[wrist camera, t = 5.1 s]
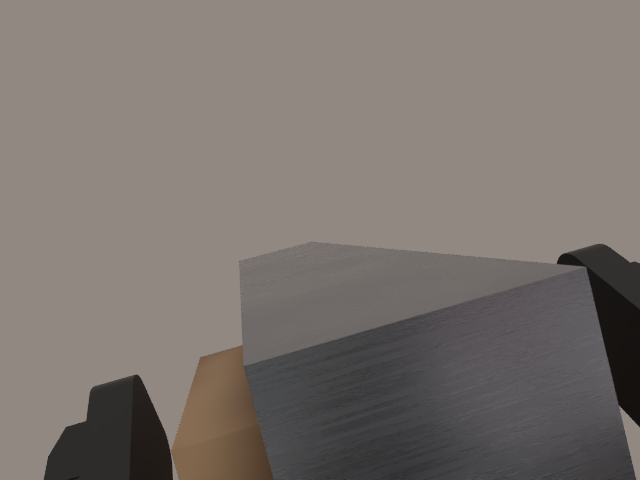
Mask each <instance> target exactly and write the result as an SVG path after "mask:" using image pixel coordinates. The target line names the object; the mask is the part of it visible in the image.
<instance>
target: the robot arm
mask: <svg viewBox="0 0 640 480" xmlns="http://www.w3.org/2000/svg"><path fill="white" fill-rule="evenodd" d="M557 264H560V265H571V266H582V267H586V269H587V273H588V277H589V282H590V286H591V290H592V294H593V299H594V303H595V307H596V311H597V316H598V320H599V324H600V328H601V333H602V337H603V341H604V345H605V350H606V354H607V358H608V362H609V367H610V371H611V375H612V379H613V384H614V388H615V392H616V396H617V401H618V405H619V406H620V407H621V408H622V409H623V410H624V411H625V412H626V413H627V414H628V415H629V416H630V417H631V418H632V420H634V421H635V423H636V424H637V425H638V426H639V427H640V263H637V262H631V263H630V262H629V261H627V260H626V259H625V258H623V257H622V256H620V255H619V254H618V253H616V252H615V251H614V250H612V249H611V248H610V247H608V246H606V245H604V244H596V245H593V246H589V247H585V248H582V249H578V250H575V251H572V252H568V253H564V254H562V255H561V256H560V257H559V259H558V261H557ZM172 474H173V473H172V460H171V453H170V449H169V444H168V440H167V436H166V433H165V431H164V428H163V426H162V424H161V422H160V420H159V417H158V415H157V413H156V411H155V408H154V406H153V404H152V402H151V400H150V397H149V395H148V393H147V390H146V388H145V386H144V384H143V382H142V380H141V378H140V377H139V376H138V375H133V376H129V377H126V378H122V379H119V380H115V381H112V382H108V383H105V384H101V385H98V386H94V387H93V388H92V389H91V391H90V397H89V404H88V412H87V420H86V421H85V422H82V423H78V424H75V425H72V426H68V427H66V428H65V430H64V431H63V433H62V435H61V437H60V438H59V440H58V441H57V443H56V445H55V446H54V448H53V450H52V451H51V453H50V455H49V456H48V461H47V466H46V471H45V476H44V480H173V475H172Z"/></svg>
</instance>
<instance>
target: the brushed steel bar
mask: <svg viewBox="0 0 640 480" xmlns="http://www.w3.org/2000/svg"><path fill="white" fill-rule="evenodd" d="M239 267H240V291H241V315H242V339H243V365H244V370H245V374H246V377H247V381H248V385H249V389H250V392H251V396H252V400H253V404H254V407H255V411H256V415H257V419H258V422H259V426H260V430H261V434H262V438H263V441H264V445H265V449H266V453H267V456H268V460H269V464H270V468H271V471H272V475H273V479H274V480H636V477H635V473H634V469H633V464H632V460H631V456H630V452H629V448H628V443H627V439H626V435H625V430H624V426H623V422H622V418H621V414H620V409H619V405H618V401H617V396H616V392H615V388H614V384H613V379H612V375H611V371H610V367H609V362H608V358H607V354H606V350H605V345H604V341H603V337H602V333H601V328H600V324H599V320H598V316H597V311H596V307H595V303H594V299H593V294H592V290H591V286H590V282H589V277H588V273H587V269H586V267H582V266H571V265H560V264H549V263H537V262H527V261H516V260H505V259H494V258H483V257H472V256H461V255H450V254H439V253H428V252H417V251H406V250H395V249H384V248H372V247H362V246H350V245H339V244H329V243H318V242H310V243H306V244H302V245H298V246H294V247H291V248H287V249H284V250H279V251H275V252H272V253H268V254H264V255H260V256H256V257H253V258H249V259H245V260H241V261H239Z"/></svg>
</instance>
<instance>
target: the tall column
mask: <svg viewBox="0 0 640 480" xmlns="http://www.w3.org/2000/svg"><path fill="white" fill-rule="evenodd" d="M171 452H172V456H173V460H174V463H175V467H176V471H177V474H178V478H179V480H274V479H273V475H272V471H271V468H270V464H269V460H268V456H267V453H266V449H265V445H264V441H263V438H262V434H261V430H260V426H259V422H258V419H257V415H256V411H255V407H254V404H253V400H252V396H251V392H250V389H249V385H248V381H247V377H246V374H245V370H244V365H243V345H242V346H239V347H235V348H232V349H228V350H225V351H221V352H218V353H214V354H211V355H207V356H204V357H201V358H200V360H199V363H198V367H197V370H196V373H195V376H194V379H193V383H192V386H191V389H190V392H189V395H188V399H187V402H186V405H185V408H184V412H183V415H182V418H181V421H180V424H179V428H178V431H177V434H176V437H175V441H174V444H173V447H172V450H171Z"/></svg>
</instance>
